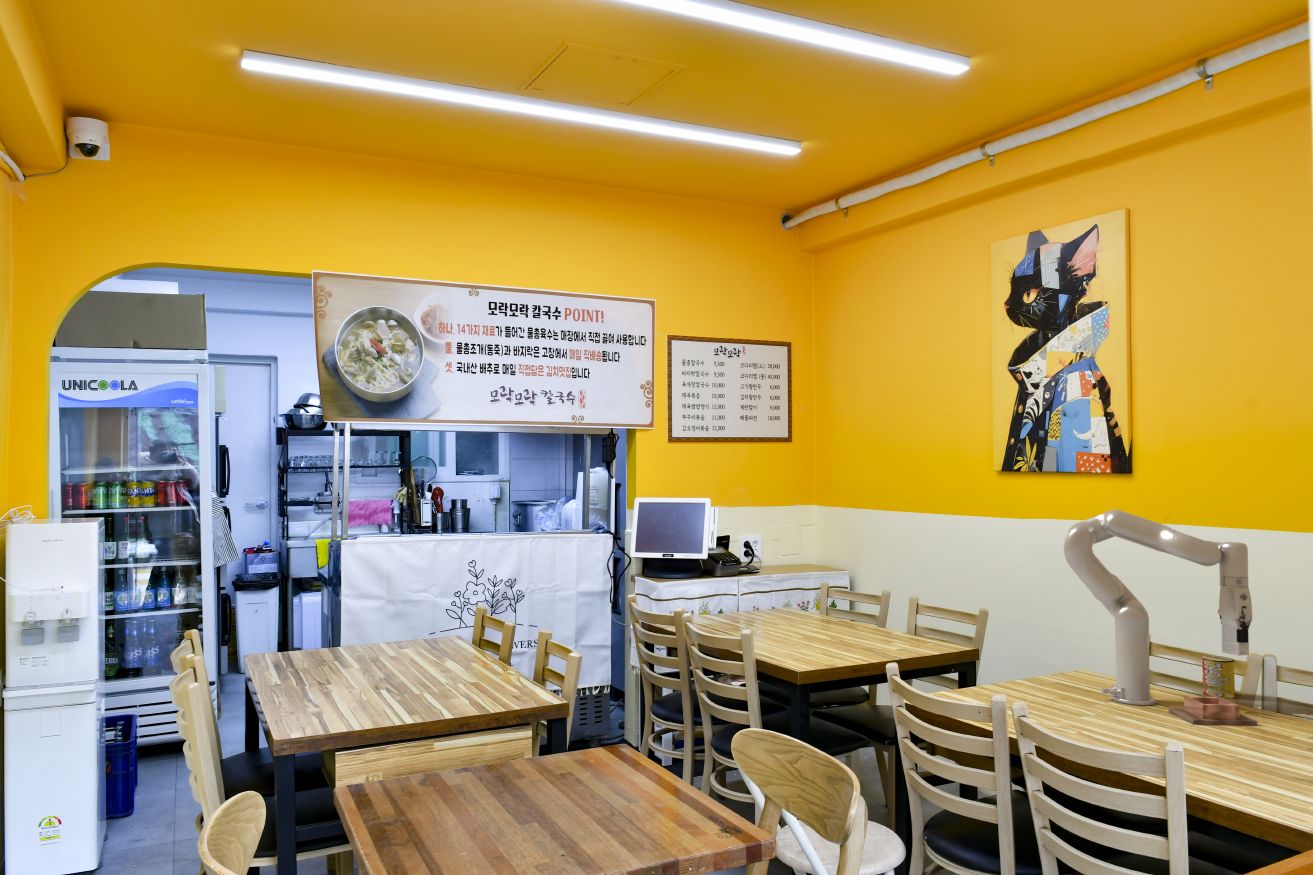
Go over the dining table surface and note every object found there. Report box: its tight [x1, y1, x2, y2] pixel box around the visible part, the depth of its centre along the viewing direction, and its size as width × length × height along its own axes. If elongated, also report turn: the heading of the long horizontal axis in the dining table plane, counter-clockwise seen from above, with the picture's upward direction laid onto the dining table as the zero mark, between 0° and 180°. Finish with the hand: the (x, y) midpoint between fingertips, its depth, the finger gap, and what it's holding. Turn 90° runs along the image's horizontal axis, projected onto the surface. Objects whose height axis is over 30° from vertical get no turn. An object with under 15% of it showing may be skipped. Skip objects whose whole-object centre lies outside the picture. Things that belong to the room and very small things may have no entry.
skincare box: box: [1220, 614, 1250, 656], centre depth 280 cm, size 6×4×12 cm
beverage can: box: [1201, 655, 1236, 699], centre depth 299 cm, size 9×9×12 cm
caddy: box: [1167, 696, 1258, 726], centre depth 269 cm, size 18×14×5 cm
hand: (1235, 639), depth 280 cm, fingers closed on skincare box, 7 cm apart
